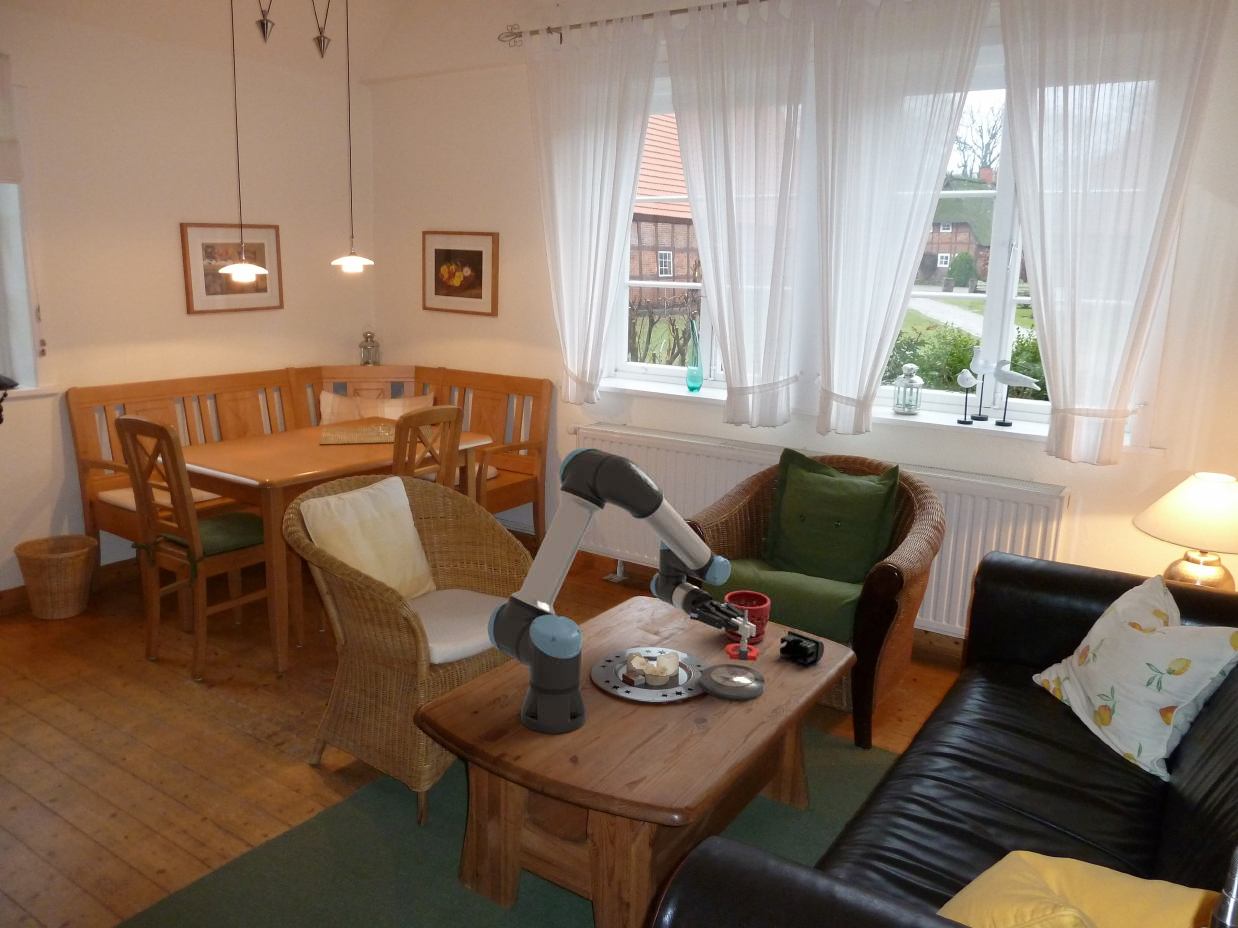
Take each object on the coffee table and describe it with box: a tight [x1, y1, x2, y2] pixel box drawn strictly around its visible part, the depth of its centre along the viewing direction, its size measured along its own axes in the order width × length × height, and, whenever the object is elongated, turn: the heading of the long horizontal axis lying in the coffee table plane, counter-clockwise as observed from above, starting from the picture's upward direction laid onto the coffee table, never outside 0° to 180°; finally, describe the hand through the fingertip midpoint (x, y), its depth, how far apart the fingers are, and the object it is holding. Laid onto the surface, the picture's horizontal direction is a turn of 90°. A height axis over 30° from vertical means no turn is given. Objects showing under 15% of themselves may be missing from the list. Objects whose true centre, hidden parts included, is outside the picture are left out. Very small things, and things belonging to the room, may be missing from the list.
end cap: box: [779, 630, 825, 669], centre depth 263 cm, size 10×7×7 cm
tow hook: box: [724, 610, 760, 662], centre depth 243 cm, size 8×13×9 cm
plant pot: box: [723, 590, 771, 644], centre depth 276 cm, size 13×13×12 cm
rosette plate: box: [700, 663, 766, 702], centre depth 245 cm, size 16×16×3 cm
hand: (751, 631), depth 237 cm, fingers closed on tow hook
